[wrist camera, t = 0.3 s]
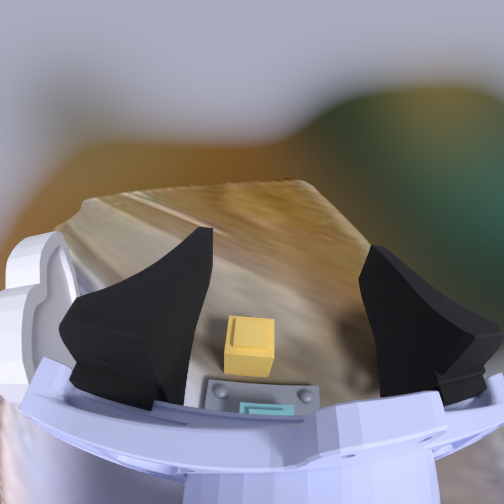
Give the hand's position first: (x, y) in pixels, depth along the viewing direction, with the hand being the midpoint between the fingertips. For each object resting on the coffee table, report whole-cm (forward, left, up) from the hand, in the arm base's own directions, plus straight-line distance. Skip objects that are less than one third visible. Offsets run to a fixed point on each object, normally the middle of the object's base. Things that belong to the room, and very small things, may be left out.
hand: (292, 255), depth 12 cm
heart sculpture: (-1, +18, -22) cm, 28 cm away
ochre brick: (+7, +1, -21) cm, 22 cm away
